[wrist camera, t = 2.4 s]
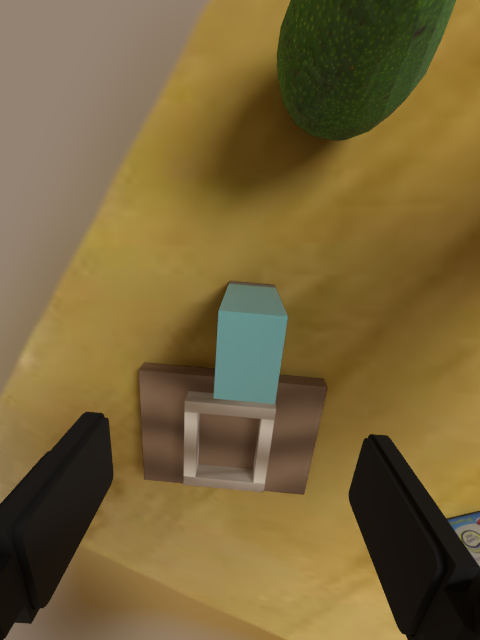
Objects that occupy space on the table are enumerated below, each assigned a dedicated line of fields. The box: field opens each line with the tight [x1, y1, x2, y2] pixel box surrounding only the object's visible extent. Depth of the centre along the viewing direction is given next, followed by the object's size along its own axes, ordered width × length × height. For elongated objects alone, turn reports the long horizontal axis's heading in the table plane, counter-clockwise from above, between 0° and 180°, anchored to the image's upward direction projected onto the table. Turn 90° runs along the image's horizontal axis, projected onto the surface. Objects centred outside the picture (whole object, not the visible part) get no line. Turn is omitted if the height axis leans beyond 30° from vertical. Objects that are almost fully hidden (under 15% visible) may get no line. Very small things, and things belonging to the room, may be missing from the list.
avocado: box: [277, 0, 456, 141], centre depth 13 cm, size 8×8×12 cm
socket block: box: [139, 363, 327, 495], centre depth 28 cm, size 14×18×3 cm
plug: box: [214, 281, 288, 404], centre depth 21 cm, size 6×4×9 cm, turn 175°
